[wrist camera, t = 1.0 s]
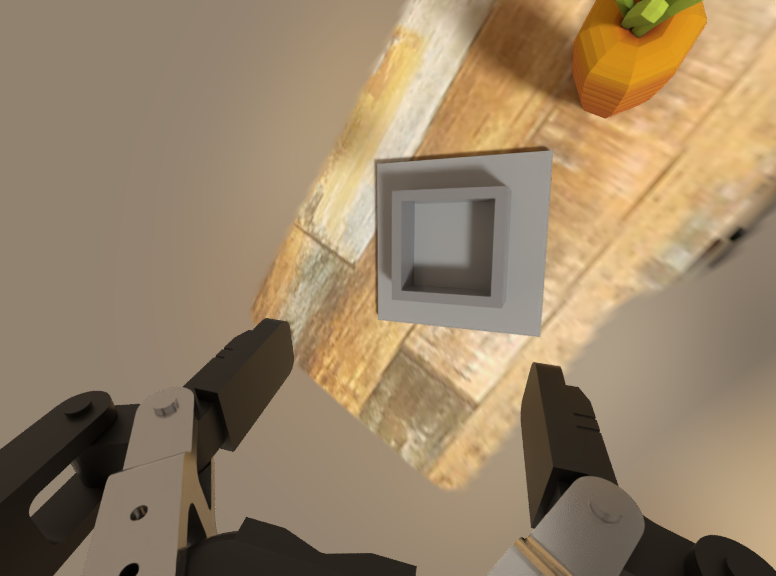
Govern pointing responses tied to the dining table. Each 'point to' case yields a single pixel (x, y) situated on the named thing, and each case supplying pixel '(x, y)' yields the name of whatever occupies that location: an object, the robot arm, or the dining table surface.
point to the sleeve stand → (464, 241)
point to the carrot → (632, 50)
